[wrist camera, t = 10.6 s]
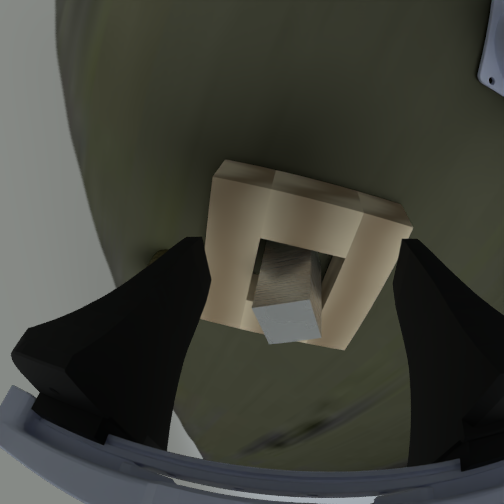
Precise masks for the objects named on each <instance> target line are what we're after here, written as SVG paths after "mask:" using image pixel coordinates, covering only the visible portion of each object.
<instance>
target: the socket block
mask: <svg viewBox="0 0 504 504" xmlns="http://www.w3.org/2000/svg"><path fill="white" fill-rule="evenodd" d="M412 229H413V226H412V224H411V222H410V220H409V218H408V216H407V214H406V212H405V210H404V208H403V206H402V205H401V204H398V203H395V202H392V201H389V200H386V199H382V198H379V197H376V196H372V195H369V194H366V193H362V192H359V191H355V190H352V189H348V188H345V187H341V186H337V185H334V184H330V183H326V182H322V181H319V180H315V179H311V178H307V177H303V176H299V175H295V174H291V173H286V172H282V171H278V170H273V169H269V168H265V167H260V166H255V165H251V164H246V163H241V162H236V161H231V160H226V159H225V160H224V162H223V163H222V165H221V166H220V167H219V169H218V170H217V171H216V173H215V174H214V176H213V179H212V187H211V195H210V204H209V213H208V222H207V232H206V242H205V253H206V257H207V262H208V266H209V270H210V275H211V279H212V281H211V285H210V289H209V294H208V297H207V301H206V304H205V307H204V310H203V312H202V315H201V317H200V319H203V320H207V321H211V322H215V323H219V324H223V325H227V326H231V327H235V328H239V329H243V330H248V331H252V332H256V333H261V334H264V332H263V330H262V328H261V326H260V324H259V322H258V320H257V318H256V316H255V314H254V312H253V310H252V304H253V300H254V295H255V291H256V286H257V282H258V277H259V275H258V274H253V270H254V266H255V261H256V257H257V253H258V248H259V244H260V239H261V238H262V239H266V240H271V241H275V242H279V243H283V244H288V245H292V246H296V247H300V248H304V249H309V250H313V251H317V252H321V253H325V254H329V255H333V257H332V259H331V262H330V264H329V267H328V269H327V272H326V274H325V276H324V279H323V281H322V284H321V299H322V327H321V338H317V339H309V340H302V341H298V342H303V343H308V344H313V345H318V346H324V347H329V348H335V349H340V350H345V349H346V347H347V346H348V344H349V342H350V341H351V339H352V338H353V336H354V335H355V333H356V331H357V330H358V328H359V326H360V325H361V323H362V322H363V320H364V318H365V317H366V315H367V313H368V312H369V310H370V308H371V307H372V305H373V303H374V301H375V300H376V298H377V296H378V294H379V293H380V291H381V289H382V287H383V285H384V284H385V282H386V280H387V278H388V276H389V275H390V273H391V271H392V269H393V267H394V265H395V263H396V261H397V259H398V256H399V251H400V246H401V240H402V239H408V238H409V236H410V233H411V231H412Z"/></svg>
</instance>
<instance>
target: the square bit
mask: <svg viewBox="0 0 504 504" xmlns="http://www.w3.org/2000/svg"><path fill="white" fill-rule="evenodd" d="M252 310H253V312H254V314H255V316H256V318H257V320H258V322H259V324H260V326H261V328H262V330H263V332H264V334H265V336H266V339H267V341H268V343H269V344H276V343H285V342H293V341H302V340H309V339H317V338H321V327H322V299H321V263H320V259H319V256H318V252H317V251H313V250H309V249H304V248H300V247H296V246H292V245H288V244H283V243H279V242H275V241H271V240H267V241H266V246H265V250H264V255H263V259H262V264H261V268H260V273H259V277H258V282H257V286H256V291H255V295H254V300H253V304H252Z"/></svg>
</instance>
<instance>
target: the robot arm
mask: <svg viewBox="0 0 504 504" xmlns="http://www.w3.org/2000/svg"><path fill="white" fill-rule="evenodd" d="M477 76H478V80H479V81H480V82H481V83H482V84H484V85H485V86H487V87H489V88H490V89H492V90H493V91H495V92H497V93H498V94H500V95H501V96H503V97H504V0H492V3H491V10H490V16H489V22H488V28H487V33H486V39H485V44H484V48H483V53H482V57H481V62H480V66H479V70H478V75H477ZM490 77H491V79H492V83H491V84H490V83H489V78H490ZM211 281H212V279H211V275H210V270H209V266H208V262H207V257H206V253H205V249H204V244H203V240H202V237H186V238H184V239H183V240H181V241H180V242H179V243H177V244H176V245H175V246H173V247H172V248H171V249H169V250H168V251H167V252H166V253H164V254H163V255H162V256H161V257H159V258H158V259H157V260H155V261H154V262H153V263H152V264H150V265H149V266H148V267H146V268H145V269H144V270H142V271H141V272H139V273H138V274H137V275H135V276H134V277H133V278H131V279H130V280H129V281H127V282H126V283H124V284H123V285H121V286H120V287H118V288H117V289H115V290H113V291H112V292H110V293H108V294H107V295H105V296H103V297H102V298H100V299H98V300H96V301H94V302H92V303H90V304H88V305H86V306H84V307H83V308H81V309H78V310H76V311H74V312H72V313H70V314H67V315H65V316H62V317H60V318H57V319H55V320H52V321H49V322H46V323H43V324H40V325H37V326H35V327H31V328H28V329H27V330H26V332H25V333H24V335H23V336H22V337H21V339H20V341H19V342H18V343H17V345H16V346H15V348H14V349H13V351H12V353H11V357H12V360H13V362H14V364H15V365H16V367H17V368H18V369H19V370H20V372H21V373H22V374H23V375H24V376H25V377H26V378H27V379H28V380H29V382H30V383H31V384H32V385H33V386H34V387H35V388H36V389H37V390H38V391H39V392H40V393H39V395H38V397H37V398H35V397H34V396H32V395H31V394H30V393H28V392H25V391H24V390H22V389H20V388H18V387H16V386H14V385H12V386H11V388H10V390H9V391H8V393H7V395H6V397H5V399H4V400H3V402H2V404H1V406H0V447H1V448H2V449H3V450H5V451H6V452H7V453H8V454H10V455H11V456H12V457H14V458H15V459H16V460H17V461H19V462H20V463H21V464H23V465H24V466H26V467H27V468H28V469H30V470H31V471H33V472H34V473H36V474H37V475H38V476H40V477H42V478H43V479H44V480H46V481H47V482H49V483H51V484H52V485H54V486H55V487H57V488H59V489H60V490H62V491H64V492H65V493H67V494H69V495H71V496H72V497H74V498H76V499H77V500H79V501H81V502H83V503H85V504H316V503H293V502H279V501H268V500H259V499H251V498H244V497H237V496H230V495H224V494H218V493H213V492H208V491H204V490H199V489H194V488H190V487H186V486H182V485H177V484H176V483H175V482H174V481H173V480H172V479H171V478H168V477H172V478H176V479H180V480H184V481H189V482H193V483H198V484H202V485H207V486H212V487H217V488H223V489H228V490H235V491H241V492H249V493H257V494H265V495H276V496H290V497H311V498H345V497H364V496H365V497H366V496H378V497H376V498H375V499H374V503H372V504H504V315H502V314H501V313H500V312H498V311H497V310H496V309H494V308H493V307H491V306H490V305H489V304H488V303H487V302H485V301H484V300H483V299H482V298H480V297H479V296H478V295H477V294H475V293H474V292H473V291H472V290H471V289H470V288H469V287H468V286H466V285H465V284H464V283H463V282H462V281H461V280H460V279H459V278H458V277H457V276H456V275H455V274H454V273H453V272H451V271H450V270H449V269H448V268H447V267H446V266H445V265H444V264H443V263H442V262H441V261H440V260H439V259H438V258H437V257H436V256H435V255H434V254H433V253H432V252H431V251H430V250H429V249H428V248H427V247H426V246H425V245H424V244H423V243H422V242H420V241H419V240H418V239H402V240H401V246H400V251H399V256H398V261H397V266H396V271H395V275H394V280H393V290H394V298H395V305H396V310H397V314H398V319H399V323H400V327H401V331H402V335H403V340H404V344H405V349H406V353H407V358H408V364H409V373H410V388H411V433H410V447H409V457H408V465H407V467H405V468H396V469H386V470H373V471H352V472H310V471H289V470H276V469H265V468H256V467H247V466H240V465H233V464H226V463H220V462H214V461H209V460H204V459H199V458H194V457H189V456H184V455H180V454H175V453H171V452H167V445H168V437H169V430H170V423H171V417H172V411H173V406H174V400H175V396H176V391H177V387H178V382H179V378H180V374H181V370H182V366H183V362H184V359H185V356H186V353H187V350H188V347H189V345H190V342H191V340H192V337H193V335H194V332H195V330H196V327H197V325H198V322H199V320H200V317H201V315H202V312H203V310H204V307H205V304H206V301H207V297H208V294H209V289H210V285H211ZM157 473H158V474H157ZM160 474H162V475H165V476H168V477H165V476H162V475H160ZM379 495H382V496H379Z"/></svg>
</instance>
